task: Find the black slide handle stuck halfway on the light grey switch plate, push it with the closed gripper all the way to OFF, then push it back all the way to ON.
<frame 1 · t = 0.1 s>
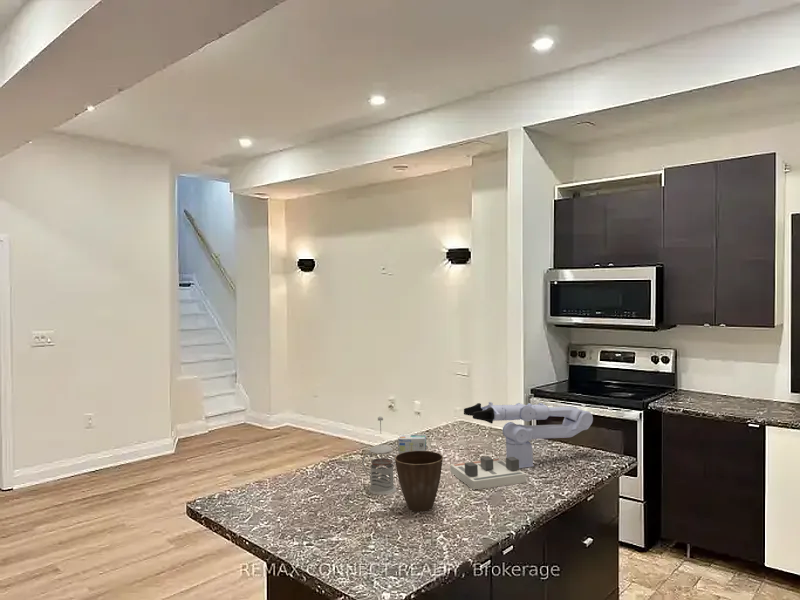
hand: (468, 413, 218), 22 cm above the counter, tool horizontal, fingers open, 7 cm apart
breaker panel: (487, 477, 212), on the counter
tripped breaker handle: (486, 463, 212), point 5 cm above the counter, slide at 0.0 cm
plant pot: (420, 508, 185), on the counter
light bulb box: (413, 464, 231), on the counter
french press: (379, 489, 203), on the counter
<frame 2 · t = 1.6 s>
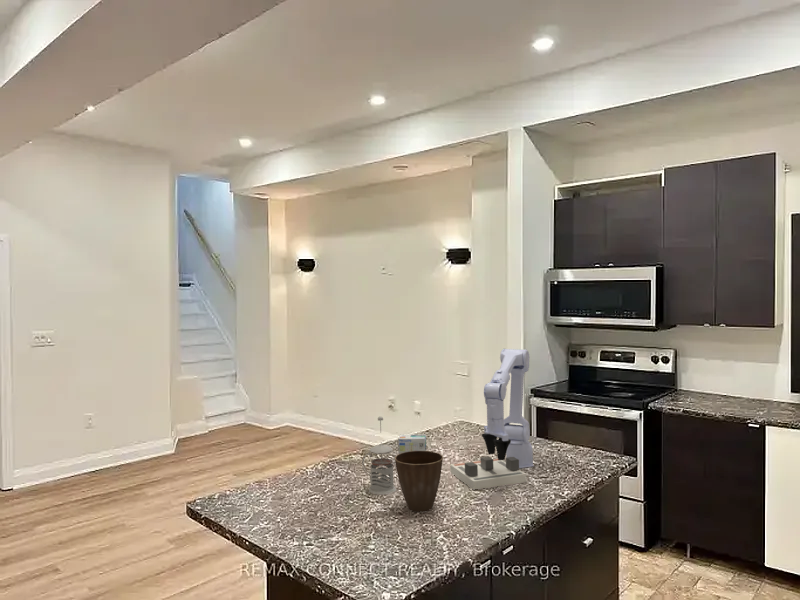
hand: (496, 456, 205), 9 cm above the counter, tool pointing down, fingers open, 7 cm apart
nothing on the counter moved.
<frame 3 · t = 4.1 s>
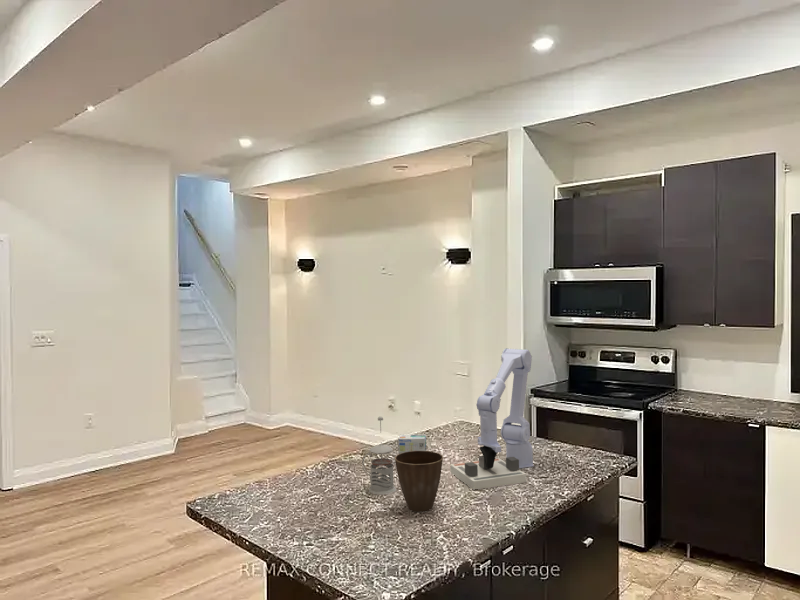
hand: (489, 467, 210), 4 cm above the counter, tool pointing down, fingers closed
tripped breaker handle: (485, 462, 213), point 5 cm above the counter, slide at -1.4 cm, touching gripper
everything else where it was.
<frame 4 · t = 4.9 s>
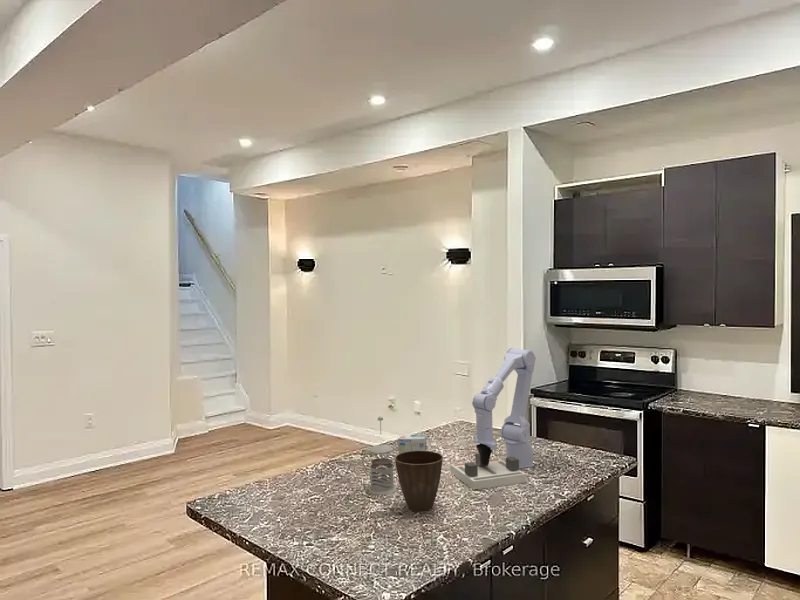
hand: (485, 464, 213), 4 cm above the counter, tool pointing down, fingers closed
tripped breaker handle: (481, 459, 216), point 5 cm above the counter, slide at -4.3 cm, touching gripper
everything else where it was.
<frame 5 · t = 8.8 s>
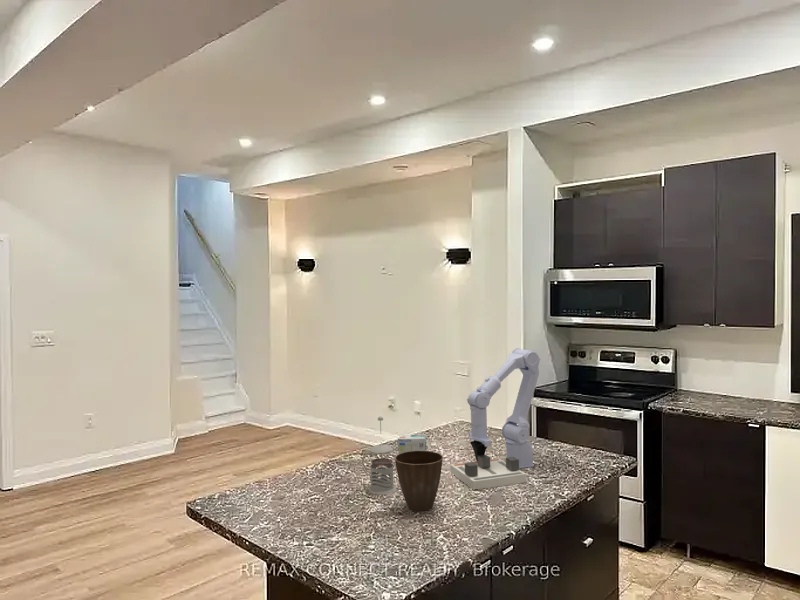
hand: (479, 461, 217), 4 cm above the counter, tool pointing down, fingers closed
tripped breaker handle: (483, 461, 214), point 5 cm above the counter, slide at -2.4 cm, touching gripper
everything else where it was.
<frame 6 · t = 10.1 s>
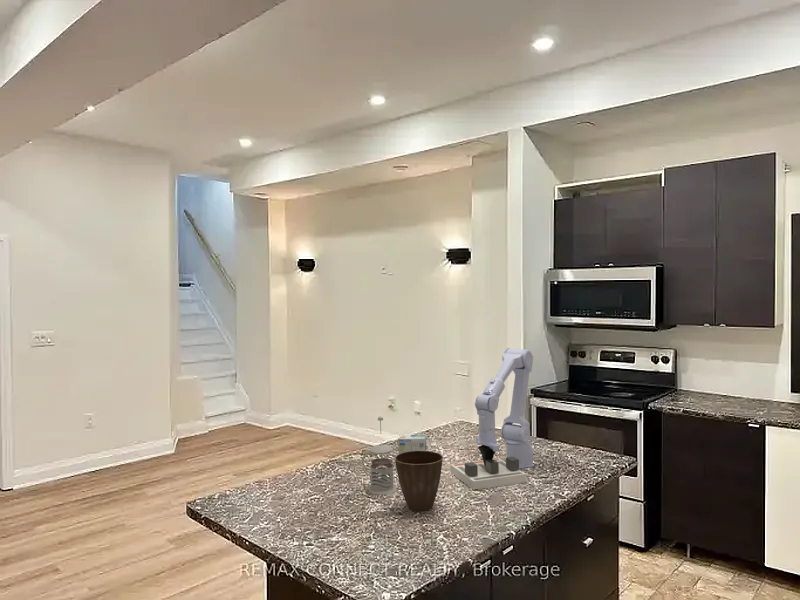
hand: (487, 466, 211), 4 cm above the counter, tool pointing down, fingers closed
tripped breaker handle: (492, 466, 208), point 5 cm above the counter, slide at 4.1 cm, touching gripper
everything else where it was.
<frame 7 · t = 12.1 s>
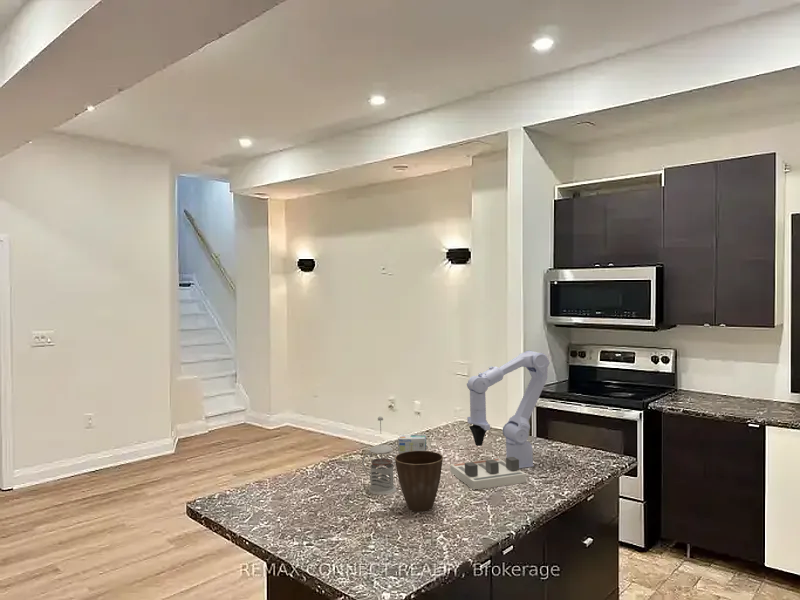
hand: (478, 445, 220), 9 cm above the counter, tool pointing down, fingers closed
tripped breaker handle: (492, 466, 208), point 5 cm above the counter, slide at 4.1 cm
everything else where it was.
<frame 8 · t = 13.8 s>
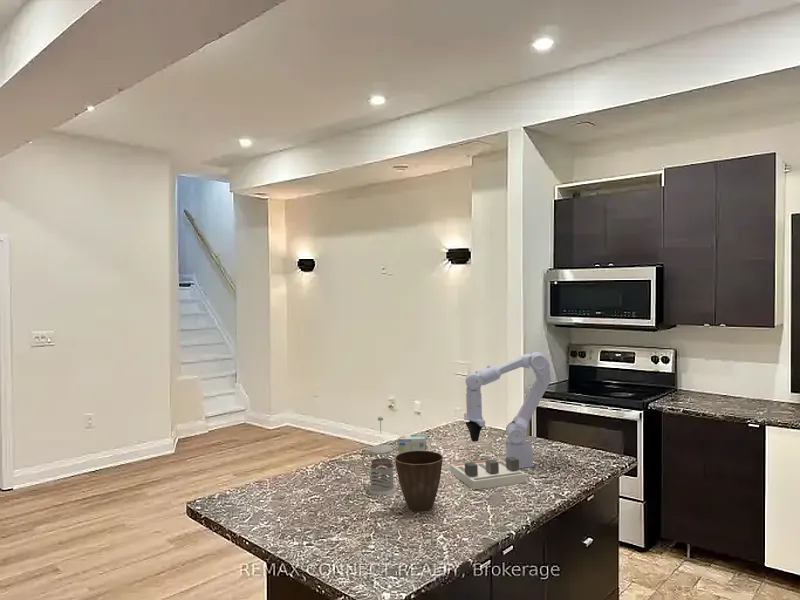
hand: (474, 441, 226), 9 cm above the counter, tool pointing down, fingers closed
nothing on the counter moved.
at the end: tripped breaker handle slide at 4.1 cm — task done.
